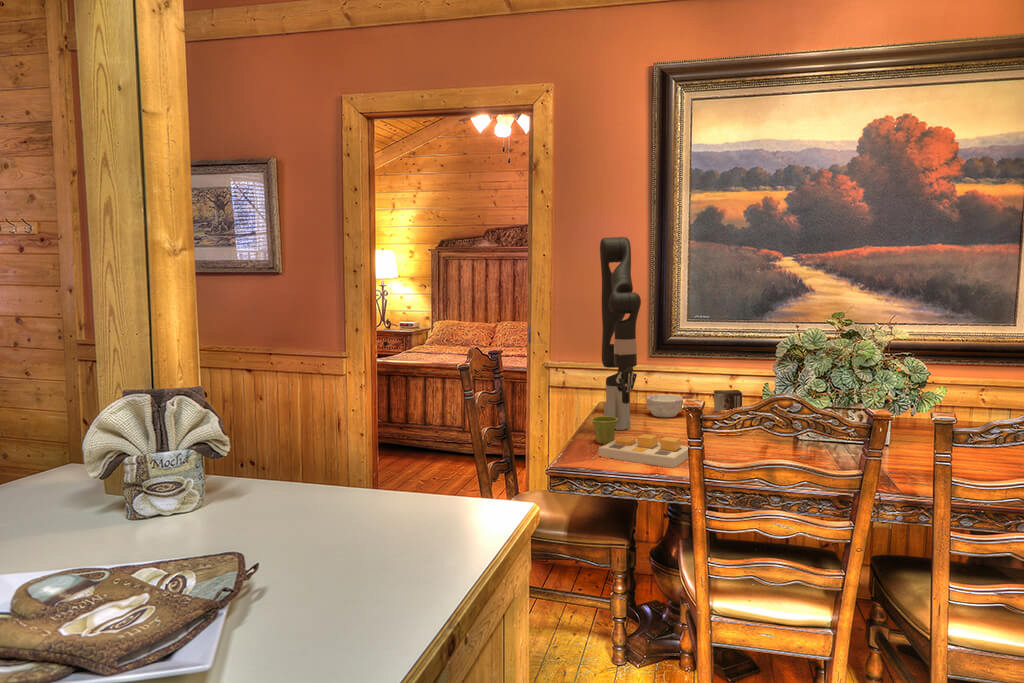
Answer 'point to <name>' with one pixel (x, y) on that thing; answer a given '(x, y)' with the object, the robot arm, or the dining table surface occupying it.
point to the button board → (645, 454)
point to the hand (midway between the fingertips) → (626, 403)
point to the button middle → (647, 440)
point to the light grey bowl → (664, 405)
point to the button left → (625, 441)
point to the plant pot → (604, 428)
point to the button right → (670, 443)
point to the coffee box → (727, 401)
